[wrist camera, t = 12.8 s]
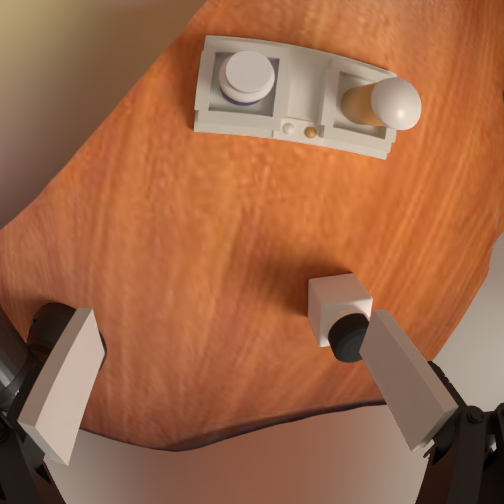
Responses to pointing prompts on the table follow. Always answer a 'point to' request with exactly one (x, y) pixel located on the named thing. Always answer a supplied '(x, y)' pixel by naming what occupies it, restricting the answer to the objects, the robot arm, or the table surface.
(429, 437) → the robot arm
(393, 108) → the rack
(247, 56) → the pill bottle
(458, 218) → the table surface
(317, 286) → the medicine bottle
